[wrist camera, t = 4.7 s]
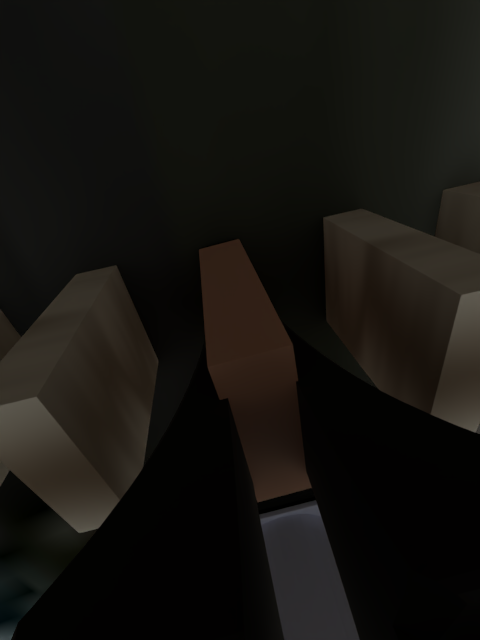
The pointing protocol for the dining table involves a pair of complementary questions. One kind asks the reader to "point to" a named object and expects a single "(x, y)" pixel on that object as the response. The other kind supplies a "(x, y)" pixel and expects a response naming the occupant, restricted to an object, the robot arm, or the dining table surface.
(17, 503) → the dining table surface
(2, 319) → the domino
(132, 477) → the domino
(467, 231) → the domino
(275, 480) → the terracotta domino
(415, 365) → the domino
